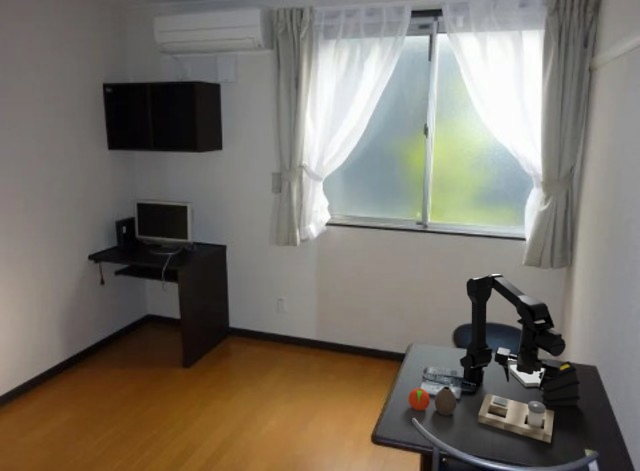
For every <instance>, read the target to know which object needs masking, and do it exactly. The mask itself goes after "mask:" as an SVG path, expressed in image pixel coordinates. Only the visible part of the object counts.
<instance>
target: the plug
mask: <svg viewBox="0 0 640 471" xmlns="http://www.w3.org/2000/svg"><path fill="white" fill-rule="evenodd" d="M528 409H529V414H528V421H527V423H526V424H527V425H530V426H534V427H537V428H541V429H542V426H541V425H542V418H543V413H544V412H545V409H546V404H545V403H544V404H543V403H542V402H540V401H537V400H531V401H529V402H528Z"/></svg>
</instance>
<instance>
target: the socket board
mask: <svg viewBox="0 0 640 471" xmlns="http://www.w3.org/2000/svg"><path fill="white" fill-rule="evenodd" d="M489 412H492V413H494V414H492V413H489ZM495 414H499V415H502V416H505V417H502V416H498V415H495ZM528 414H529V409H528V404H527V403H525V402H524V403H523V402H520V401H516V400H512V399H509V398H506V397H501V396H497V395H495V394H489V393H485V396H484V399H483V402H482V404H481V406H480V410H479V412H478V416H477V417H478V418H477V422H478V423H482V424H485V425H489V426H491V427H494V428H498V429H502V430H505V431H508V432H512V433H515V434H518V435H520V436H521V435H522V436H525V437H529V438H532V439H535V440H538V441H543V442H545V443H549V444H551V441H552V434H553V425H554V424H553V423H554V417H555V416H554V415H555V411H554V410H550V409H547V408H545V412H544V413H543V418H542V425H541V428H537V427H534V426H530V425H527V423H526V422H527V421H528ZM525 423H526V424H525ZM542 427H543V428H542Z"/></svg>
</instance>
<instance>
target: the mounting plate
mask: <svg viewBox="0 0 640 471" xmlns="http://www.w3.org/2000/svg"><path fill="white" fill-rule="evenodd" d="M516 367H517V364H510V374H511V375H513V376H514V377H515V378H516V379H517V380H518V381H519V382H520V383H521V384H522V385H523V386H524V387H525V388H528V387H530V388H531V387H538V388H539V384H540V381H541V380H540V378H539V376H540V375H539V373H541V372H543V371H544V369H543V368H541V372H539V371H537V372H534V373H533V374H532V375H529V374H527V373H523V372H518V371H517V370H516ZM541 390H543V388H541Z"/></svg>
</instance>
